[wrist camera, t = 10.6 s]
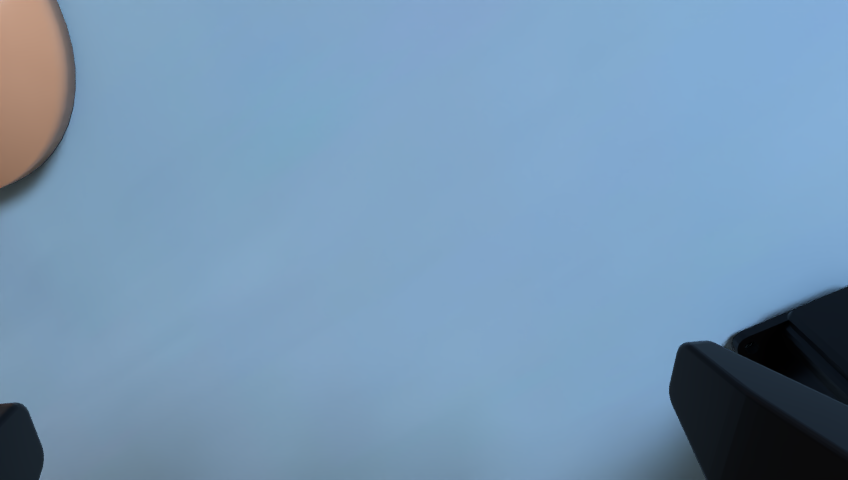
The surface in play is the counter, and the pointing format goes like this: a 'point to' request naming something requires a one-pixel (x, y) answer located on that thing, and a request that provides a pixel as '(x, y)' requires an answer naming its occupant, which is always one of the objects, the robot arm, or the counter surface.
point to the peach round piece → (33, 84)
